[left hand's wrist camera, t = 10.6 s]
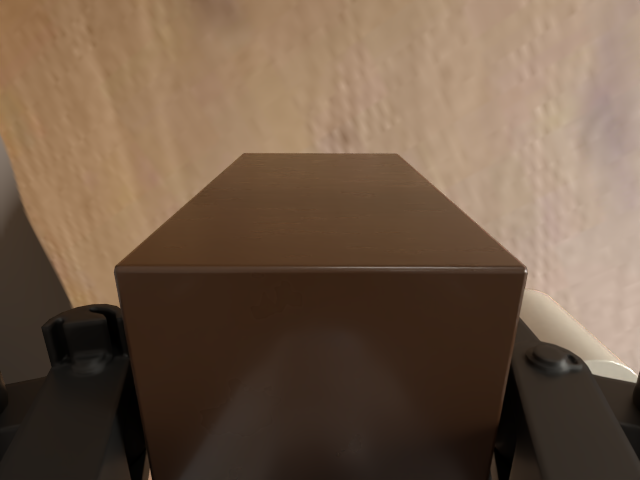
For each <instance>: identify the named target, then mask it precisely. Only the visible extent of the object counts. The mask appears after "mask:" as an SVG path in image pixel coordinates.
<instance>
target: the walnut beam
mask: <svg viewBox="0 0 640 480" xmlns="http://www.w3.org/2000/svg"><path fill="white" fill-rule="evenodd" d="M527 274H528V272H527V268H526V266H525V265H524V264H522V263H521V262H520V261H519V260H518V259H517V258H516V257H514V256H513V255H512V254H511V253H510V252H509V251H508V250H506V249H505V248H504V247H503V246H502V245H501V244H500V243H498V242H497V241H496V240H495V239H494V238H493V237H492V236H490V235H489V234H488V233H487V232H486V231H485V230H484V229H483V228H481V227H480V226H479V225H478V224H477V223H476V222H475V221H473V220H472V219H471V218H470V217H469V216H468V215H467V214H465V213H464V212H463V211H462V210H461V209H460V208H459V207H457V206H456V205H455V204H454V203H453V202H452V201H451V200H449V199H448V198H447V197H446V196H445V195H444V194H443V193H442V192H440V191H439V190H438V189H437V188H436V187H435V186H434V185H432V184H431V183H430V182H429V181H428V180H427V179H426V178H424V177H423V176H422V175H421V174H420V173H419V172H418V171H416V170H415V169H414V168H413V167H412V166H411V165H410V164H408V163H407V162H406V161H405V160H404V159H403V158H402V157H400V156H399V155H398V154H319V153H244V154H242V155H241V156H240V157H239V158H238V159H237V160H235V161H234V162H233V163H232V164H231V165H230V166H229V167H227V168H226V169H225V170H224V171H223V172H222V173H221V174H220V175H218V176H217V177H216V178H215V179H214V180H213V181H212V182H210V183H209V184H208V185H207V186H206V187H205V188H204V189H202V190H201V191H200V192H199V193H198V194H197V195H196V196H194V197H193V198H192V199H191V200H190V201H189V202H188V203H187V204H185V205H184V206H183V207H182V208H181V209H180V210H179V211H177V212H176V213H175V214H174V215H173V216H172V217H171V218H169V219H168V220H167V221H166V222H165V223H164V224H163V225H162V226H160V227H159V228H158V229H157V230H156V231H155V232H154V233H152V234H151V235H150V236H149V237H148V238H147V239H146V240H144V241H143V242H142V243H141V244H140V245H139V246H138V247H136V248H135V249H134V250H133V251H132V252H131V253H130V254H129V255H127V256H126V257H125V258H124V259H123V260H122V261H121V262H119V263H118V264H117V265H116V266H115V269H114V275H115V280H116V286H117V291H118V297H119V302H120V308H121V313H122V318H123V324H124V329H125V335H126V340H127V346H128V351H129V357H130V362H131V367H132V373H133V378H134V384H135V389H136V395H137V400H138V406H139V411H140V416H141V422H142V427H143V433H144V438H145V444H146V449H147V455H148V460H149V465H150V471H151V476H152V480H488V479H489V474H490V469H491V463H492V458H493V453H494V448H495V442H496V437H497V432H498V427H499V421H500V416H501V411H502V406H503V400H504V395H505V390H506V385H507V379H508V374H509V369H510V363H511V358H512V353H513V348H514V342H515V337H516V332H517V327H518V321H519V316H520V311H521V306H522V300H523V295H524V290H525V285H526V279H527Z"/></svg>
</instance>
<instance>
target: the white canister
mask: <svg viewBox="0 0 640 480" xmlns="http://www.w3.org/2000/svg"><path fill="white" fill-rule="evenodd" d="M519 317H520V318H521V319H522V320H523V321H524V323H525V324H526V325H527V326H528V327H529V328H530V330H531V331H532V332H533V333H534V334H535V335H536V337H537V338H538V339H539V340H540V341H542V342H547V343H551V344H555V345H558V346H560V347H563V348H565V349H567V350H570V351H571V352H573V353H574V354H576V355H577V356H579V357H580V358H581V359H582V360H583V361H584V362H585V363H586V364H587V366H588V367H589V369H590V371H591V372H592V374H594V375H598V376H603V377H608V378H613V379H618V380H624V381H629V382H634V383H636V382H637V378H638V376H637V374H636V373H635V372H634V371H632V370H631V369H630V368H629V367H628V366H627V365H626V364H625V363H624V362H622V361H621V360H620V359H619V358H618V357H617V356H616V355H615V354H614V353H613V352H611V351H610V350H609V349H608V348H607V347H606V346H605V345H604V344H603V343H601V342H600V341H599V340H598V339H597V338H596V337H595V336H594V335H593V334H591V333H590V332H589V331H588V330H587V329H586V328H585V327H584V326H583V325H581V324H580V323H579V322H578V321H577V320H576V319H575V318H574V317H573V316H571V315H570V314H569V313H568V312H567V311H566V310H565V309H564V308H563V307H562V306H560V305H559V304H558V303H557V302H556V301H555V300H554V299H553V298H551V297H550V296H549V295H547V294H545V293H543V292H540V291H537V290H531V289H525V290H524V295H523V300H522V306H521V311H520V316H519Z"/></svg>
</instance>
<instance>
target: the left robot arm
mask: <svg viewBox="0 0 640 480" xmlns="http://www.w3.org/2000/svg"><path fill="white" fill-rule="evenodd" d="M41 328H42V332H43V336H44V339H45V343H46V347H47V351H48V355H49V358H50V362H51V366H52V368H51V369H50V371H49V373H48V375H47V376H46V377H42V378H37V379H32V380H27V381H22V382H17V383H11V384H6V385H5V384H4V381H3V377H2V374H1V371H0V480H148V477H149V470H150V465H149V460H148V455H147V449H146V444H145V438H144V433H143V427H142V422H141V416H140V411H139V406H138V400H137V395H136V389H135V384H134V378H133V373H132V367H131V362H130V357H129V351H128V346H127V340H126V335H125V329H124V324H123V318H122V313H121V309H120V308H119V307H117V306H114V305H109V304H92V305H87V306H81V307H77V308H74V309H71V310H68V311H65V312H62V313H60V314H58V315H57V316H55V317H53V318H51V319H49V320H48V321H47V322H46V323H45V324H44V325H43V326H42V327H41ZM488 480H640V372H639V375H638V378H637V382H636V383H634V382H629V381H624V380H618V379H613V378H608V377H603V376H598V375H594V374H592V372H591V371H590V369H589V367H588V366H587V364H586V363H585V362H584V361H583V360H582V359H581V358H580V357H579V356H577V355H576V354H574V353H573V352H571V351H570V350H567V349H565V348H563V347H560V346H558V345H555V344H551V343H547V342H542V341H540V340H539V339H538V338H537V337H536V335H535V334H534V333H533V332H532V331H531V330H530V328H529V327H528V326H527V325H526V324H525V323H524V321H523V320H522V319H521V318H520V317H519V321H518V327H517V332H516V337H515V342H514V348H513V353H512V358H511V363H510V369H509V374H508V379H507V385H506V390H505V395H504V400H503V406H502V411H501V416H500V421H499V427H498V432H497V437H496V442H495V448H494V453H493V458H492V463H491V469H490V474H489V479H488Z"/></svg>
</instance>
